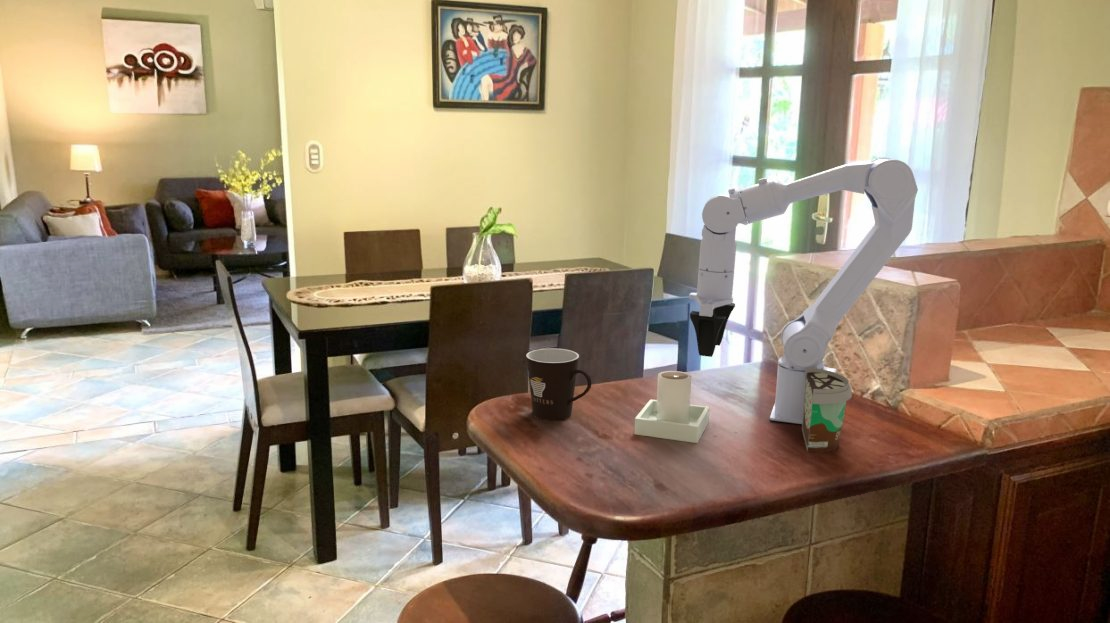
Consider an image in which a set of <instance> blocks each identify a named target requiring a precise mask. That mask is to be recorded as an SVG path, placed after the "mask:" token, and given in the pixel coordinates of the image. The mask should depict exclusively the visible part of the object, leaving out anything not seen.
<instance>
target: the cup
mask: <svg viewBox="0 0 1110 623" xmlns="http://www.w3.org/2000/svg"><path fill="white" fill-rule="evenodd" d="M656 386H657V391H656V392H657V393H656V400H657V416H656V420H661V421H669V422H676V423H683V424H689V423H690V404H691V399H692V398H691V394H692V375H691V374H690V373H688V372H683V371H677V370H668V371H667V370H666V371H661V372H659V373H658V374H657V385H656Z"/></svg>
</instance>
